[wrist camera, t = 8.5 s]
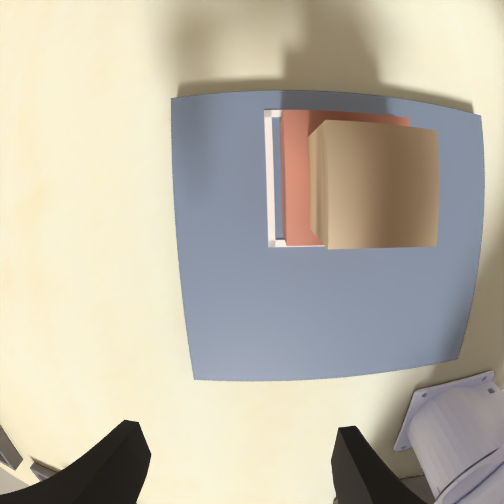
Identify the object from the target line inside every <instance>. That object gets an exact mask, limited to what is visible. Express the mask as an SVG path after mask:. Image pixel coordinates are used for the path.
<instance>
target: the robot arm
mask: <svg viewBox="0 0 504 504" xmlns="http://www.w3.org/2000/svg"><path fill="white" fill-rule="evenodd" d="M494 375H495V372H494V371H493V370H491V371H488V372H485V373H481V374H478V375H475V376H471V377H468V378H464V379H460V380H457V381H453V382H449V383H445V384H441V385H436V386H432V387H427V388H423V389H419V390H417V391H415V392H414V394H413V397H412V400H411V403H410V406H409V409H408V411H407V414H406V417H405V420H404V422H403V425H402V428H401V430H400V433H399V435H398V438H397V440H396V443H395V445H394V448H393V449H394V451H396V452H398V451H402V450H406V449H410V448H413V450H414V452H415V454H416V456H417V458H418V461H419V463H420V465H421V467H422V470H423V472H424V474H425V477H426V479H427V481H428V483H429V486H430V488H431V491H432V493H433V495H434V498H435V500H436V502H435V503H434V504H504V393H503V392H502V390H501V389H500V388H499V387H498V386H497V385H496V384H495V383H494V382H493V381H492V380H493V378H494ZM150 459H151V452H150V450H149V448H148V445H147V443H146V440H145V438H144V435H143V432H142V430H141V427H140V424H139V422H134V421H129V420H124V421H123V422H121V423H120V424H119V425H118V426H117V427H116V428H114V429H113V430H112V431H111V432H110V433H109V434H108V435H107V436H106V437H104V438H103V439H102V440H101V441H100V442H99V443H97V444H96V445H95V446H94V447H93V448H91V449H90V450H89V451H88V452H87V453H85V454H84V455H83V456H82V457H80V458H79V459H77V460H76V461H75V462H73V463H72V464H71V465H69V466H68V467H66V468H65V469H63V470H61V471H60V472H58V473H56V474H55V475H53V476H51V477H49V478H47V479H45V480H43V481H41V482H39V483H36V484H34V485H32V486H29V487H27V488H24V489H21V490H18V491H14V492H11V493H7V494H2V495H0V504H136V501H137V499H138V496H139V494H140V491H141V489H142V486H143V484H144V481H145V478H146V476H147V472H148V468H149V463H150ZM331 465H332V474H333V483H334V487H335V491H336V496H337V500H338V504H428V503H426V502H425V501H424V500H422V499H421V498H420V497H418V496H417V495H416V494H415V493H414V492H412V491H411V490H410V489H409V488H408V487H407V486H406V485H405V484H404V483H403V482H402V481H401V480H400V479H399V478H398V477H397V476H396V475H395V474H394V473H393V472H392V471H391V470H390V469H389V468H388V467H387V466H386V464H385V463H384V462H383V461H382V460H381V459H380V457H379V456H378V455H377V454H376V452H375V451H374V450H373V449H372V447H371V446H370V445H369V443H368V442H367V441H366V439H365V438H364V436H363V435H362V434H361V432H360V431H359V429H358V428H357V427H356V426H349V427H341V428H338V433H337V437H336V442H335V446H334V450H333V454H332V458H331Z"/></svg>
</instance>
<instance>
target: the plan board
mask: <svg viewBox="0 0 504 504" xmlns="http://www.w3.org/2000/svg"><path fill="white" fill-rule="evenodd" d="M283 110H324V111H344V112H358V113H370V114H380V115H389V116H397V117H405V118H409V120H410V127H417V128H425V129H431V130H437V137H438V156H439V213H438V232H437V245H436V247H403V248H365V249H327V248H326V246H325V245H318V246H286V242H285V239H284V236H283V233H282V189H281V155H280V129H279V123H280V119H281V115H282V111H283ZM171 139H172V171H173V192H174V209H175V224H176V237H177V249H178V260H179V270H180V280H181V289H182V298H183V307H184V315H185V322H186V330H187V337H188V344H189V351H190V358H191V364H192V370H193V376H194V380H212V381H293V380H312V379H327V378H339V377H350V376H359V375H368V374H376V373H384V372H391V371H397V370H404V369H410V368H416V367H421V366H427V365H432V364H437V363H442V362H447V361H451V360H456V359H458V355H459V352H460V349H461V345H462V342H463V338H464V334H465V330H466V326H467V322H468V318H469V314H470V309H471V305H472V300H473V295H474V290H475V284H476V278H477V272H478V265H479V258H480V250H481V241H482V230H483V216H484V189H485V172H484V145H483V132H482V121H481V116H480V115H476V114H473V113H469V112H465V111H461V110H457V109H452V108H448V107H443V106H439V105H434V104H429V103H423V102H418V101H412V100H406V99H399V98H392V97H385V96H376V95H367V94H357V93H345V92H330V91H304V90H267V91H241V92H226V93H213V94H203V95H194V96H185V97H178V98H171Z"/></svg>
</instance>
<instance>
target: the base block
mask: <svg viewBox="0 0 504 504" xmlns="http://www.w3.org/2000/svg"><path fill="white" fill-rule="evenodd" d="M325 120H340V121H358V122H371V123H383V124H393V125H402V126H410V120H409V118H405V117H397V116H389V115H380V114H370V113H358V112H344V111H324V110H283V111H282V115H281V119H280V123H279V129H280V155H281V189H282V233H283V236H284V239H285V242H286V246H318V245H324V244H323V243H322V242H321V241H320V240H319V238H318V237H317V236H316V235H315V234H314V233H313V232H312V231H311V229H310V191H309V157H308V136H309V135H310V134H312V133H313V132H314V131H315V130H316V129H317V128H318V127H319V126H320V125H321V124H322V123H323V122H324V121H325Z"/></svg>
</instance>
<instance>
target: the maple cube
mask: <svg viewBox="0 0 504 504" xmlns="http://www.w3.org/2000/svg"><path fill="white" fill-rule="evenodd" d="M308 157H309V191H310V229H311V231H312V232H313V233H314V234H315V235H316V236H317V237H318V238H319V240H320V241H321V242H322V243H323V244H324V245H325V246H326V248H327V249H365V248H403V247H436V245H437V232H438V213H439V156H438V137H437V130H431V129H425V128H417V127H410V126H402V125H393V124H383V123H371V122H358V121H340V120H325V121H324V122H323V123H322V124H321V125H320V126H319V127H318V128H317V129H316V130H315V131H314V132H313V133H312V134H310V135H309V136H308Z"/></svg>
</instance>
